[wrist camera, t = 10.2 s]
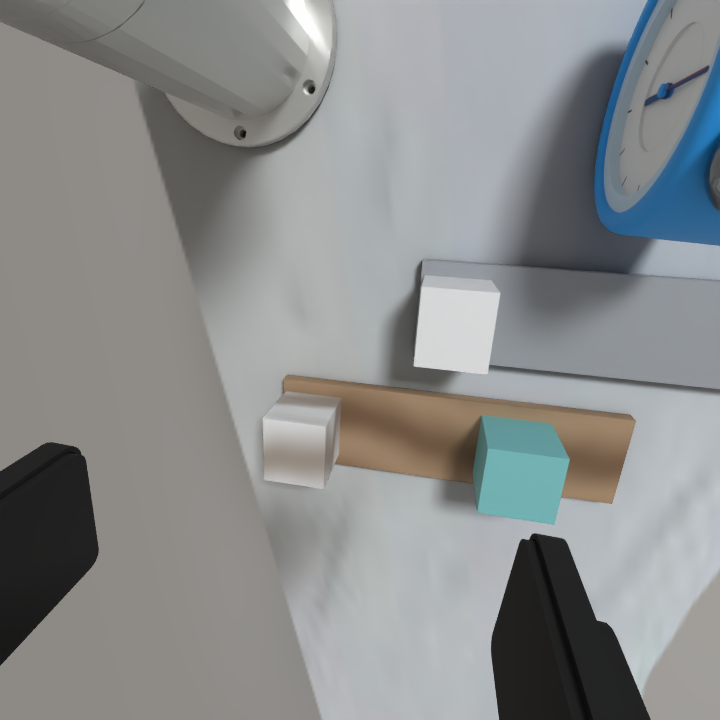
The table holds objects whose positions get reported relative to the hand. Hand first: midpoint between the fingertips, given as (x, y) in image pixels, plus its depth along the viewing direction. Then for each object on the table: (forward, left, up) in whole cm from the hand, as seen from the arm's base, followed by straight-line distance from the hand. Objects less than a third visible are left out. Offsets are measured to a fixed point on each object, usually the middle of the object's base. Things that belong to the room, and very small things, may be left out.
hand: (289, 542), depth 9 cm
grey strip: (0, +14, -25) cm, 29 cm away
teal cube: (+10, +9, -24) cm, 28 cm away
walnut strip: (+10, +4, -25) cm, 27 cm away
